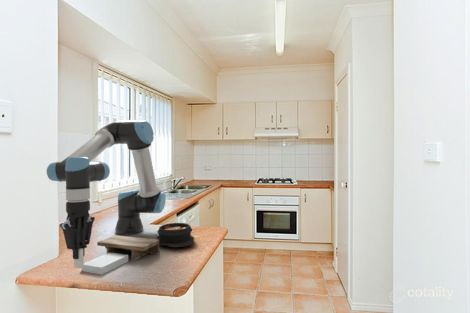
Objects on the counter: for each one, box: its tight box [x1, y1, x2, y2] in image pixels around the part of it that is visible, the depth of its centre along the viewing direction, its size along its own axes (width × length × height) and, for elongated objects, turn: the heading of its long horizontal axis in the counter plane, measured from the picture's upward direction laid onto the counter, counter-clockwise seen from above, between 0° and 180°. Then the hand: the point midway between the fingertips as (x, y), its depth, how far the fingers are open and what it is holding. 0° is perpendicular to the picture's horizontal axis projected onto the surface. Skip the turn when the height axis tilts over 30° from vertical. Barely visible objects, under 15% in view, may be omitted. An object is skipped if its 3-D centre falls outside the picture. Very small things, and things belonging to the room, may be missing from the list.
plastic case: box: [80, 252, 129, 275], centre depth 117 cm, size 14×10×3 cm
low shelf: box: [97, 234, 160, 261], centre depth 129 cm, size 11×24×6 cm, turn 71°
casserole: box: [156, 222, 195, 248], centre depth 145 cm, size 25×19×8 cm
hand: (78, 267), depth 105 cm, fingers closed
